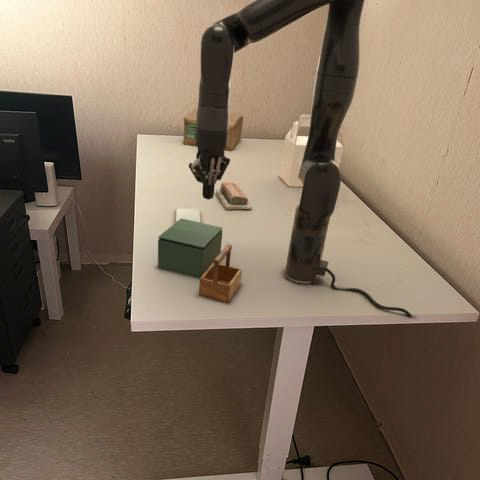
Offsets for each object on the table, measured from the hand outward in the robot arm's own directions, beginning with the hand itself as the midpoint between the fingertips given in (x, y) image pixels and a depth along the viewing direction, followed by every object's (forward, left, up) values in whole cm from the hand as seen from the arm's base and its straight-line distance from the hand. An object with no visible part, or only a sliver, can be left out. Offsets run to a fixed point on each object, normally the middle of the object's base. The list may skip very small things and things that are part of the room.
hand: (208, 198), depth 117 cm
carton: (+5, -3, -21) cm, 22 cm away
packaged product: (+10, -57, -21) cm, 62 cm away
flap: (+5, -7, -12) cm, 15 cm away
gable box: (-11, -99, -21) cm, 102 cm away
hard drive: (+18, -32, -21) cm, 43 cm away
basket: (-8, +8, -21) cm, 24 cm away
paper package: (+48, -137, -21) cm, 146 cm away
